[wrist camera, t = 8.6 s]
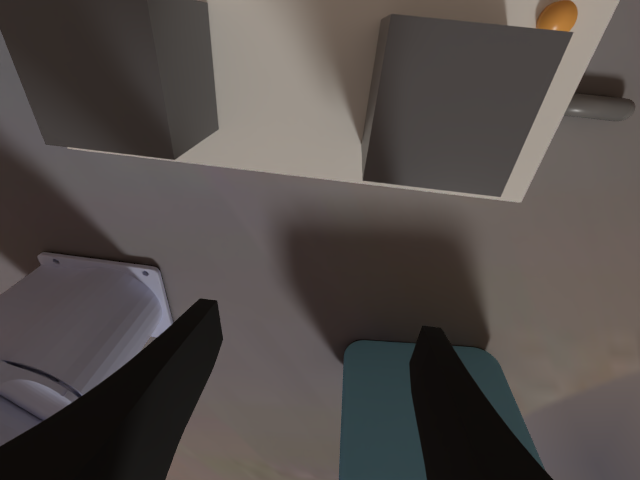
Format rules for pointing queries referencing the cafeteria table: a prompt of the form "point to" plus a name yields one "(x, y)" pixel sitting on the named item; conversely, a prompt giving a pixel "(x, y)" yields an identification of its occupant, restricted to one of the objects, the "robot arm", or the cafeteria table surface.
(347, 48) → the power strip
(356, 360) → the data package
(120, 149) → the matte gray cuboid
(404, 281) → the cafeteria table surface
